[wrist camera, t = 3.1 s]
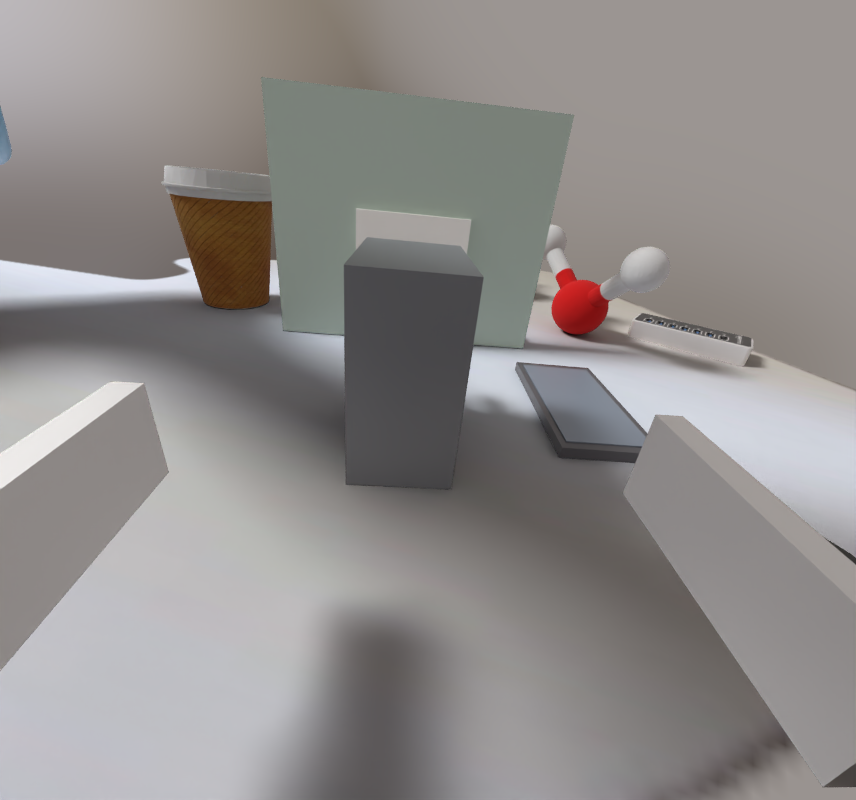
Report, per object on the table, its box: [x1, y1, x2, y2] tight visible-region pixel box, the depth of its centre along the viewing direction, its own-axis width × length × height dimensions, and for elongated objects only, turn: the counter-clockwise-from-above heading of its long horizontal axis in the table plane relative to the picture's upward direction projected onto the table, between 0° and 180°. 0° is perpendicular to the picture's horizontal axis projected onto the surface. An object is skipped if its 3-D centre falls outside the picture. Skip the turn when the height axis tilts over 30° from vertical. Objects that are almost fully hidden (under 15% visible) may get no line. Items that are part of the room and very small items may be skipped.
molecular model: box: [543, 225, 670, 334], centre depth 41 cm, size 18×6×10 cm, turn 18°
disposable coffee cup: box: [161, 166, 272, 309], centre depth 39 cm, size 10×10×12 cm
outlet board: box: [261, 77, 574, 348], centre depth 34 cm, size 22×7×18 cm, turn 92°
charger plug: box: [344, 237, 484, 489], centre depth 21 cm, size 5×10×10 cm, turn 2°
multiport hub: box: [627, 313, 753, 366], centre depth 42 cm, size 4×11×2 cm, turn 53°
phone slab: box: [515, 362, 647, 463], centre depth 28 cm, size 6×12×1 cm, turn 1°
